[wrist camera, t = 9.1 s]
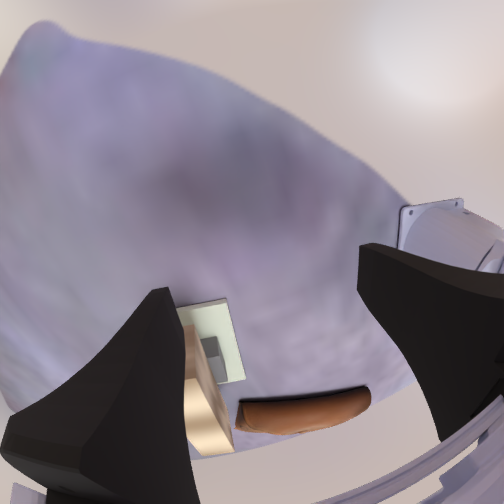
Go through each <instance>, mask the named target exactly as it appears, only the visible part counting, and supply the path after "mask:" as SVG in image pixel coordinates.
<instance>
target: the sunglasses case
mask: <svg viewBox="0 0 504 504" xmlns="http://www.w3.org/2000/svg"><path fill="white" fill-rule="evenodd" d="M370 404H371V393H370V390H369V388H368V387H362V388H359V389H354V390H351V391H347V392H343V393H339V394H335V395H331V396H328V397H327V396H324V397H316V398H308V399H302V400H288V401H277V402H258V403H250V402H247V403H242V402H240V403H239V406H238V412H237V417H236V422H235V425H236V427H235V428H234V429H238V430H241V431H245V432H255V433H270V434H275V435H290V434H296V433H300V434H302V433H306V432H310V431H315V430H319V429H323V428H329V427H332V426H335V425H338V424H341V423H343V422H346V421H348V420H350V419H352V418H354V417H356V416H358V415H359V414H361V413H362V412H364V411H365V410H366V409H368V407H369V406H370Z"/></svg>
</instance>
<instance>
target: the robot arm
mask: <svg viewBox="0 0 504 504" xmlns="http://www.w3.org/2000/svg"><path fill="white" fill-rule="evenodd" d="M463 205H464V201H463V199H462V198H456V199H450V200H443V201H437V202H432V203H425V204H419V205H413V206H407V207H404V208H403V209H402V210H401V218H400V232H399V243H398V249H396V248H393V247H389V246H386V245H382V244H377V243H369V244H365V245H360V246H359V266H358V281H357V291H358V293H359V295H360V296H361V298H362V300H363V302H364V303H365V305H366V306H367V308H368V310H369V311H370V312H371V313H372V315H373V316H374V317H375V319H376V320H377V321H378V322H379V324H380V325H381V326H382V327H383V329H384V330H385V331H386V332H387V334H388V335H389V336H390V337H391V339H392V340H393V341H394V343H395V344H396V345H397V346H398V348H399V349H400V351H401V352H402V354H403V355H404V357H405V359H406V360H407V362H408V364H409V366H410V367H411V369H412V371H413V373H414V375H415V377H416V379H417V381H418V383H419V384H420V387H421V389H422V391H423V393H424V396H425V398H426V401H427V403H428V406H429V408H430V411H431V414H432V417H433V420H434V423H435V426H436V429H437V433H438V437H439V440H440V441H441V443H440V444H439V445H437V446H436V447H434V448H433V449H431V450H429V451H428V452H426V453H425V454H423V455H421V456H420V457H418V458H417V459H415V460H413V461H411V462H410V463H408V464H406V465H404V466H402V467H400V468H399V469H397V470H395V471H393V472H391V473H389V474H387V475H385V476H383V477H381V478H379V479H377V480H374V481H372V482H370V483H368V484H365V485H363V486H361V487H358V488H356V489H353V490H351V491H348V492H346V493H343V494H340V495H337V496H335V497H332V498H329V499H326V500H323V501H319V502H316V503H313V504H377V503H379V502H381V501H383V500H385V499H387V498H389V497H391V496H393V495H395V494H397V493H399V492H400V491H403V490H405V489H406V488H408V487H410V486H411V485H413V484H415V483H417V482H418V481H420V480H422V479H423V478H425V477H426V476H428V475H430V474H431V473H432V472H434V471H436V470H437V469H439V468H440V467H442V466H443V465H444V464H446V463H447V462H449V461H450V460H451V459H453V458H454V457H455V456H457V455H458V454H459V453H461V452H462V451H463V450H465V449H466V448H467V447H468V446H470V445H471V444H472V443H473V442H474V441H475V440H477V439H478V438H479V439H478V445H477V448H476V449H475V450H473V451H472V452H471V453H470V454H469V455H467V456H466V457H465V458H464V459H463V460H461V461H460V462H459V463H458V464H456V465H455V466H453V467H452V468H451V469H449V470H448V471H447V472H445V473H444V474H442V475H441V476H440V478H439V480H440V482H441V483H442V485H443V488H441V489H440V490H438V491H437V492H435V493H434V494H432V495H430V496H429V497H427V498H426V499H424V500H423V501H421V502H419V503H417V504H504V230H503V229H502V228H501V227H500V226H498V225H496V224H494V223H492V222H490V221H488V220H486V219H484V218H483V217H480V216H478V215H476V214H474V213H472V212H470V211H468V210H466V209H464V208H463ZM410 210H411V211H410ZM409 212H410V213H409ZM185 361H186V350H185V337H184V329H183V326H182V324H181V321H180V318H179V316H178V313H177V310H176V308H175V305H174V302H173V299H172V296H171V294H170V291H169V288H168V287H164V288H159V289H154V290H151V292H150V293H149V294H148V295H147V296H146V297H145V299H144V300H143V301H142V302H141V304H140V305H139V306H138V307H137V309H136V310H135V311H134V312H133V314H132V315H131V316H130V317H129V319H128V320H127V321H126V322H125V324H124V325H123V326H122V327H121V328H120V330H119V331H118V332H117V333H116V334H115V335H114V336H113V338H112V339H111V340H110V341H109V342H108V343H107V345H106V346H105V347H104V348H103V349H102V350H101V351H100V352H99V353H98V354H97V355H96V356H95V357H94V358H93V359H92V360H91V361H90V362H89V363H88V364H86V365H85V366H84V367H83V368H82V369H81V370H79V371H78V372H77V373H76V374H75V375H73V376H72V377H71V378H70V379H69V380H67V381H66V382H65V383H64V384H62V385H61V386H60V387H58V388H57V389H55V390H54V391H53V392H51V393H50V394H48V395H47V396H45V397H44V398H42V399H41V400H39V401H37V402H36V403H34V404H32V405H30V406H29V407H27V408H25V409H23V410H21V411H19V412H18V413H16V414H14V415H12V416H10V418H9V420H8V423H7V426H6V430H5V433H4V436H3V439H2V442H1V446H0V454H1V455H2V457H3V458H4V459H5V460H6V461H7V462H8V463H9V464H10V465H12V466H13V467H14V468H16V469H17V470H19V471H20V472H21V473H23V474H24V475H26V476H28V477H29V478H31V479H32V480H34V481H35V482H37V483H39V484H40V485H42V486H44V487H46V488H47V495H44V494H41V493H39V492H37V491H35V490H32V489H30V488H27V487H25V486H22V485H20V484H18V483H13V487H12V494H11V501H10V504H200V500H199V496H198V493H197V489H196V485H195V480H194V476H193V471H192V466H191V461H190V455H189V449H188V443H187V435H186V427H185V418H184V386H185Z"/></svg>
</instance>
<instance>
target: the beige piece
mask: <svg viewBox="0 0 504 504" xmlns="http://www.w3.org/2000/svg"><path fill="white" fill-rule="evenodd" d="M183 329H184V337H185V350H186V361H185V386H184V418H185V427H186V435H187V438H188V439H189V441H190V442H191V443H192V444H193V445H194V447H195V448H196V449H197V450H198V451H199V452H200V454H201V455H202V456H207V455H215V454H223V453H230V452H235V450H234V444H233V439H232V433H231V427H230V421H229V415H228V409H227V407H226V405H225V402H224V400H223V398H222V395H221V393H220V390H219V388H218V386H217V383H216V381H215V378H214V376H213V373H212V371H211V368H210V366H209V363H208V360H207V358H206V355H205V352H204V350H203V347H202V344H201V342H200V339H199V336H198V333H197V331H196V328H195V325H194V324H192V325H187V326H183Z"/></svg>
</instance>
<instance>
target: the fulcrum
mask: <svg viewBox="0 0 504 504" xmlns="http://www.w3.org/2000/svg"><path fill="white" fill-rule="evenodd" d="M176 310H177V313H178V316H179V318H180V321H181V324H182V326H187V325H192V324H194V325H195V328H196V331H197V333H198V336H199V339H200V342H201V344H202V347H203V350H204V352H205V355H206V358H207V360H208V363H209V366H210V368H211V371H212V373H213V376H214V378H215V381H216V383H217V385H218V384H223V383H229V382H234V381H239V380H244V379H246V376H245V372H244V368H243V365H242V361H241V357H240V353H239V349H238V345H237V341H236V337H235V333H234V329H233V325H232V321H231V317H230V313H229V309H228V305H227V301H226V299H221V300H216V301H211V302H206V303H201V304H196V305H190V306H185V307H180V308H176Z"/></svg>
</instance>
